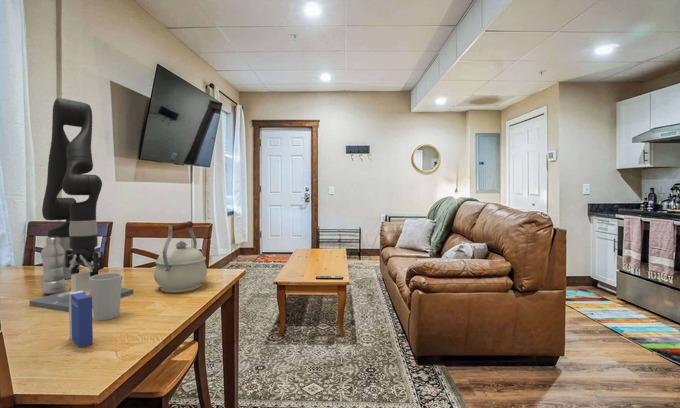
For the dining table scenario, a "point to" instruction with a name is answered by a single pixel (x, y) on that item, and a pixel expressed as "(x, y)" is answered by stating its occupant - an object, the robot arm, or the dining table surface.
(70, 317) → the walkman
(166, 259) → the kettle
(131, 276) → the dining table surface
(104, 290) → the cup
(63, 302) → the dial plate
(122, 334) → the dining table surface
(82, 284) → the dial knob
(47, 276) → the plastic bottle
